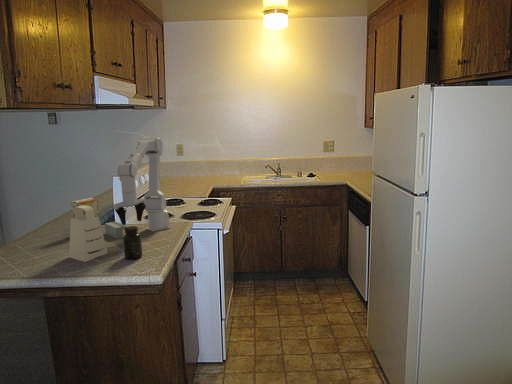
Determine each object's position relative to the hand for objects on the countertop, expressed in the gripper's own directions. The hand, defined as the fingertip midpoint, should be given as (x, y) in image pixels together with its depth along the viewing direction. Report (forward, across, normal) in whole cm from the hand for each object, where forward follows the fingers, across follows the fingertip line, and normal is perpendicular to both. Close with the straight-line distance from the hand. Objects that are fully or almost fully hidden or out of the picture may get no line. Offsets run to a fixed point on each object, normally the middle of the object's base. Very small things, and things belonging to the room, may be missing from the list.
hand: (131, 222), depth 185 cm
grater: (+10, +20, -1) cm, 22 cm away
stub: (+9, 0, -1) cm, 9 cm away
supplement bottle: (+10, +10, +16) cm, 21 cm away
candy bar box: (+10, +4, -32) cm, 34 cm away
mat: (+9, -2, -11) cm, 14 cm away
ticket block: (+9, -2, -17) cm, 20 cm away
